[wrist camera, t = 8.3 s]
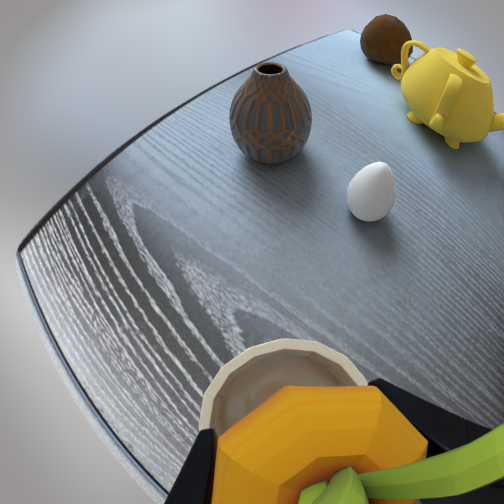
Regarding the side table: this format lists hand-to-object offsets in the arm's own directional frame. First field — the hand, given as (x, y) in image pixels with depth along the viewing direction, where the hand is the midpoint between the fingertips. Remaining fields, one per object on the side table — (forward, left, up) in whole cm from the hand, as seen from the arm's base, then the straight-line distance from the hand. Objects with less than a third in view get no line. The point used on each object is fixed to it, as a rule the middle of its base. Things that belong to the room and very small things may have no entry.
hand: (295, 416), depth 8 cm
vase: (+12, +17, -10) cm, 23 cm away
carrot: (-1, -1, -7) cm, 7 cm away
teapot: (+35, +9, -10) cm, 38 cm away
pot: (-1, -1, -10) cm, 10 cm away
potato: (+42, +24, -10) cm, 50 cm away
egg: (+14, +7, -10) cm, 19 cm away
